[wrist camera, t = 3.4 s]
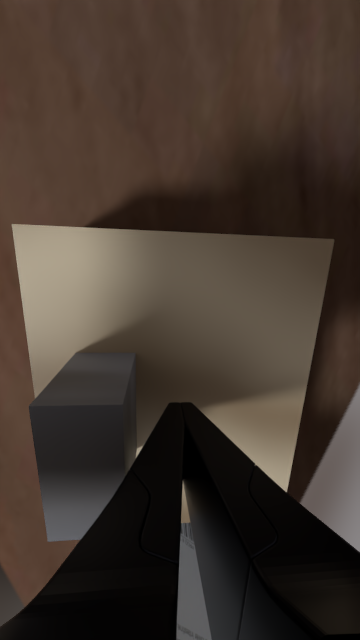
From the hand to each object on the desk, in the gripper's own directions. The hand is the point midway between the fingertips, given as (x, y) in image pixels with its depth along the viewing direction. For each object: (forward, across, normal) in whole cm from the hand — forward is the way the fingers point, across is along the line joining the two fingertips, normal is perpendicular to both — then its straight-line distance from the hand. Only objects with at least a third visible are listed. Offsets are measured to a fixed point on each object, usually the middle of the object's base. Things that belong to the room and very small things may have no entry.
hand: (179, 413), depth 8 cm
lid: (+1, 0, 0) cm, 1 cm away
